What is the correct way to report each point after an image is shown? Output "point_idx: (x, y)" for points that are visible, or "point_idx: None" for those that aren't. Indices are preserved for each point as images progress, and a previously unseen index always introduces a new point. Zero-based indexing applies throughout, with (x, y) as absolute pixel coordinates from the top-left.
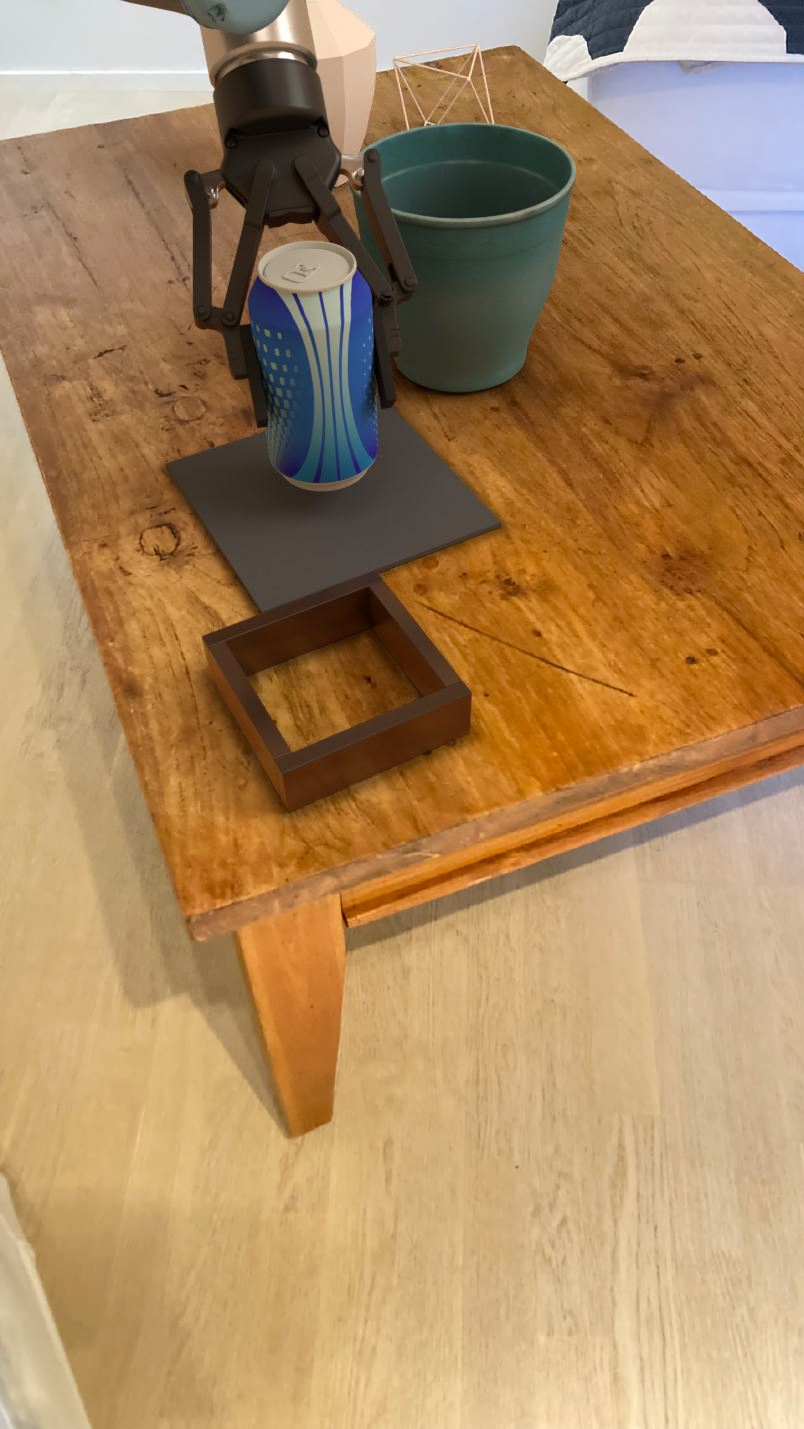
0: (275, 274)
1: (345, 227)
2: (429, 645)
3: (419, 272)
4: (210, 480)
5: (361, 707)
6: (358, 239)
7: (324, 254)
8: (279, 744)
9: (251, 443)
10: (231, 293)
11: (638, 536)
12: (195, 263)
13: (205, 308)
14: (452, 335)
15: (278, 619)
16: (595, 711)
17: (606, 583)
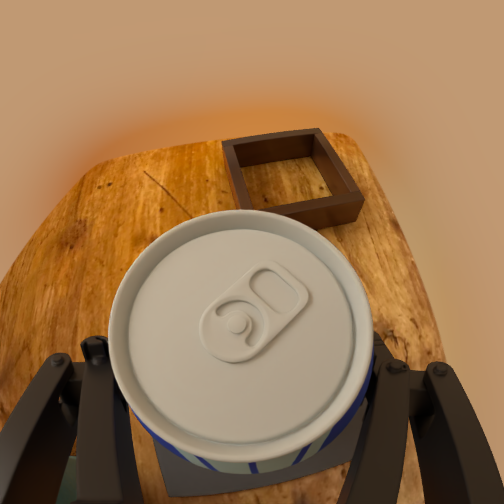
0: (325, 320)
1: (88, 471)
2: (231, 164)
3: (60, 497)
4: (354, 417)
5: (273, 185)
6: (78, 440)
7: (171, 388)
8: (320, 137)
9: (309, 464)
10: (400, 395)
11: (71, 266)
12: (476, 426)
13: (436, 370)
14: (75, 466)
15: (318, 198)
16: (164, 166)
17: (107, 235)
